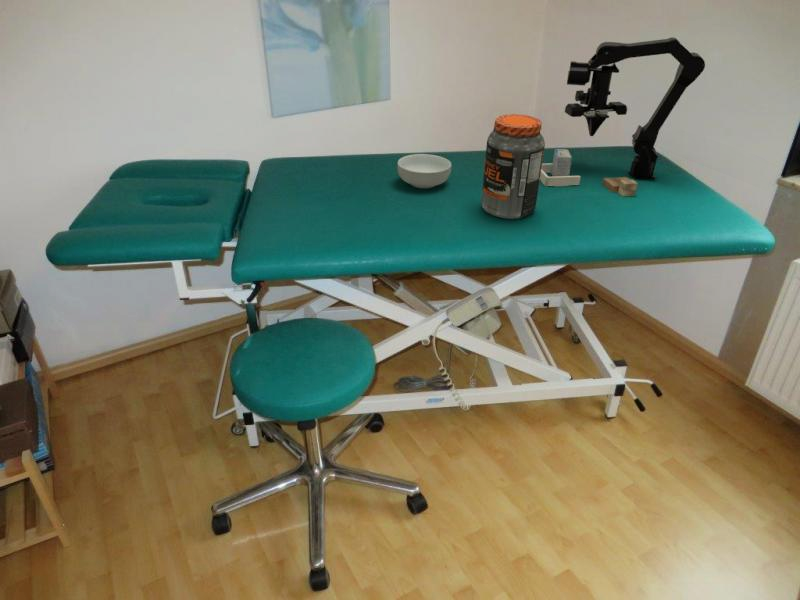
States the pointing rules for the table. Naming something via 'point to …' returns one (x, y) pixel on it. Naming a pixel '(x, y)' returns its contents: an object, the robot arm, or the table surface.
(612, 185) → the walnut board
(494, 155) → the supplement tub
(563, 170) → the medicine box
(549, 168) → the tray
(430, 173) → the cereal bowl
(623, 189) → the beech block
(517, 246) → the table surface
